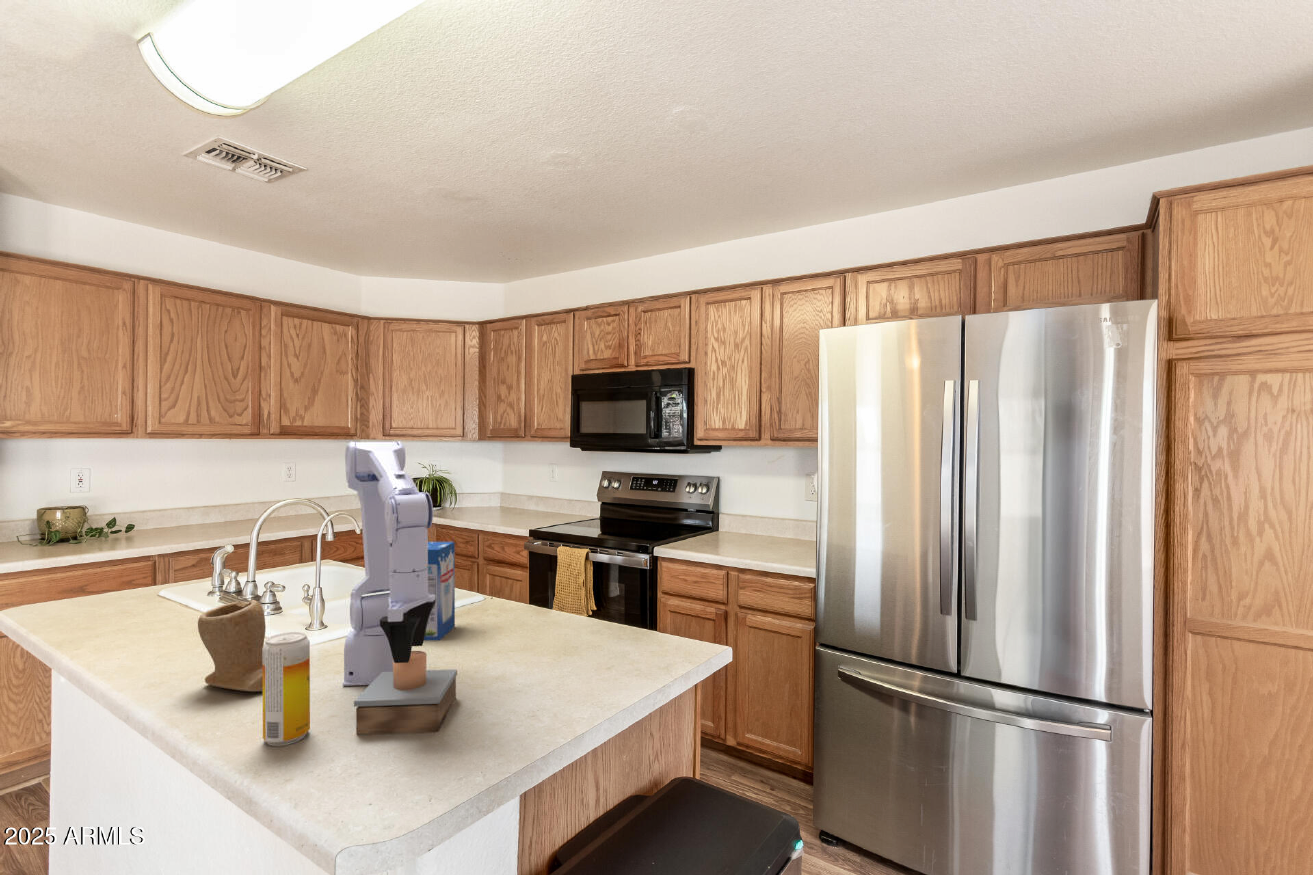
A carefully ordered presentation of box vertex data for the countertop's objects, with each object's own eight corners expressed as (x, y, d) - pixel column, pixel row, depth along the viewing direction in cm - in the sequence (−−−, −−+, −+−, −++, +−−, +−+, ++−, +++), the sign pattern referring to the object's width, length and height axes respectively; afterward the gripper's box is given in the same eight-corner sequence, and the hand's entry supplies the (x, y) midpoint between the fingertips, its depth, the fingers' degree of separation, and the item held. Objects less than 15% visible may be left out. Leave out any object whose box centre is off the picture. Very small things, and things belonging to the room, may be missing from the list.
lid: (353, 706, 95) (353, 701, 95) (382, 676, 108) (382, 671, 108) (438, 703, 96) (438, 698, 96) (457, 674, 109) (457, 669, 109)
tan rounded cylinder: (388, 690, 99) (388, 661, 99) (398, 678, 104) (398, 651, 104) (421, 689, 100) (421, 660, 100) (429, 677, 105) (429, 650, 105)
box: (356, 734, 96) (356, 708, 96) (383, 701, 108) (383, 677, 108) (438, 731, 97) (438, 705, 97) (455, 698, 109) (455, 675, 109)
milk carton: (439, 640, 139) (439, 549, 139) (411, 640, 140) (411, 549, 139) (454, 626, 149) (454, 541, 149) (428, 626, 150) (428, 541, 149)
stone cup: (183, 691, 112) (182, 606, 112) (249, 668, 123) (249, 591, 123) (239, 706, 106) (238, 616, 106) (304, 681, 117) (303, 599, 117)
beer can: (317, 727, 98) (317, 630, 98) (296, 747, 92) (296, 643, 92) (277, 728, 98) (277, 631, 98) (253, 748, 92) (253, 644, 92)
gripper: (422, 578, 95) (422, 669, 95) (445, 559, 110) (445, 638, 110) (373, 579, 95) (373, 670, 95) (403, 560, 109) (403, 639, 109)
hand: (409, 653), depth 102 cm, fingers open, 7 cm apart
